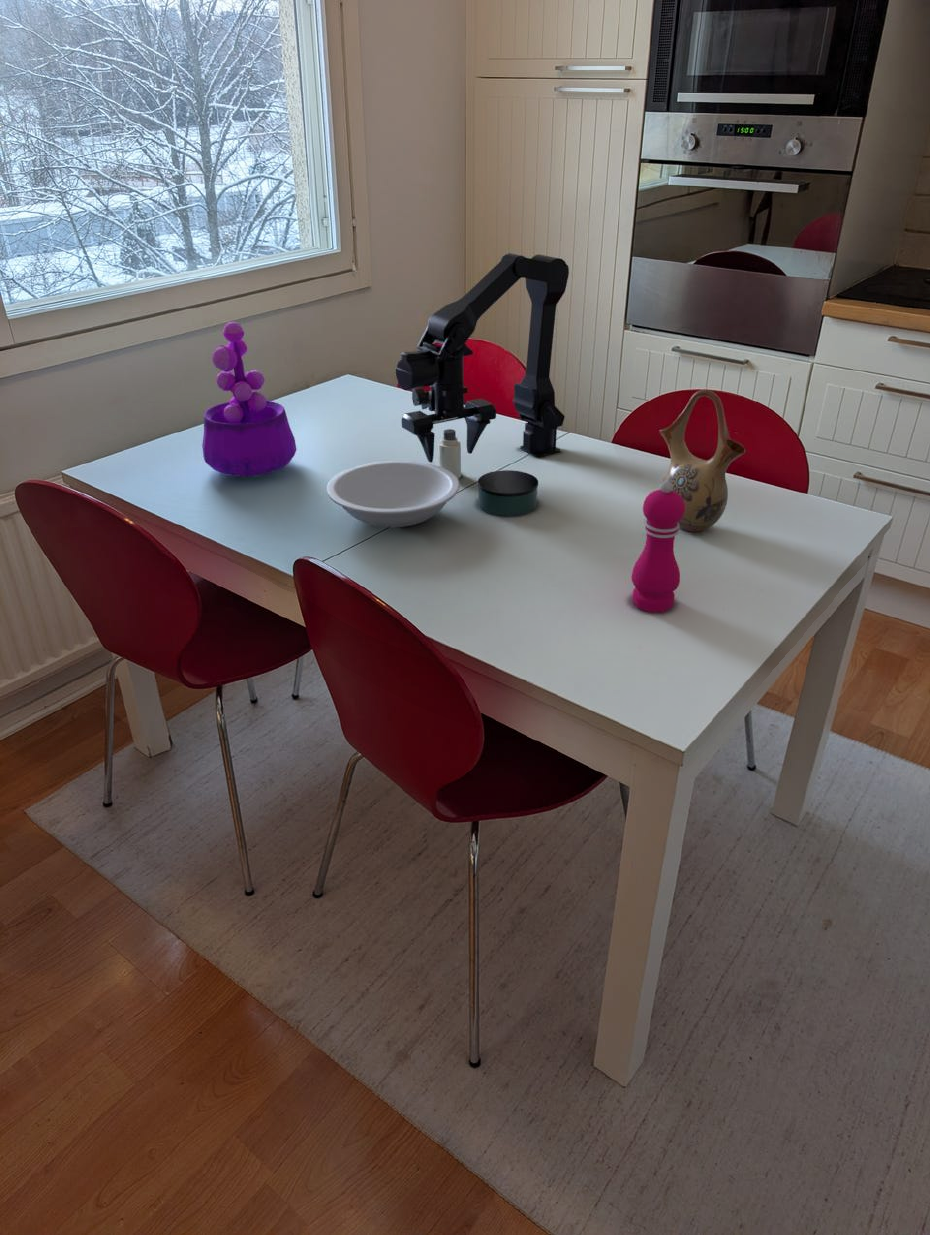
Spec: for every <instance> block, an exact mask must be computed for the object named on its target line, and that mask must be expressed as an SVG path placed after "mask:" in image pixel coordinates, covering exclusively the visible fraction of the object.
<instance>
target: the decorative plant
mask: <svg viewBox="0 0 930 1235" xmlns="http://www.w3.org/2000/svg"><path fill="white" fill-rule="evenodd" d="M222 335H223V337H224V339H226V341H228V344H227V345H224V344H223V345H222V344H221V345H219V347H217V348H216V349H214V351H213V352H212V355H211V361H212V363H213V366H215V368H216V369H218V370H220V372H219V373H218V374H217V375H216V380H215V382H216V385H217V386H218V388H219V389H220V390H222V391H223V392H224V391H225V392H229V391H230V393H232V395H233V397H232V398H231V399H230V400H229V401H227V402H223V403H222V402H221V403H219V404H217V405H214V406H211V407H210V408H209V409H207V410H206V411H205V412H204V415H203V437H202V443H201V446H202V456H203V460H204V462H205V463H206V465H208V466H209V467H210V468H211V469H213V470H214V471H216V472H218V473H219V474H224V475H227V476H234V477H258V476H263V475H267V474H270V473H273V472H276V471H279V470H280V469H283V468H284V467H286V466H287V465H289V464H290V462H291V461H292V460H293V458H295V456H296V452H297V450H298V449H297V445H296V438H295V435H294V433H293V431H292V428H291V427H290V423H289V419H288V416H287V413H286V409H285V407H284V406H283V405H282V404H281V403H278V402H275V401H271V400H267V398H266V396H265V395H264V394H263V393H261V392H258V390H260V389H262V387H263V386H264V384H265V382H266V381H265V376H264V375H263V373H262V372H261V371H259V370H258V369H257V370H256V369H253V370H248V371H247V372H246V373H245V367H244V366H245V365H244V361H243V356H244V355H246V353H247V352H248V345H247V343H246V342H245V341H244V340H243V338H244V337H245V330H244V328H243V327H242V326H241V324H240V323H238V322H237V321H229V322H227V323H226V324H225V325H224V327H223V331H222ZM232 371H233V372H232Z"/></svg>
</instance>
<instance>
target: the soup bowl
mask: <svg viewBox="0 0 930 1235" xmlns="http://www.w3.org/2000/svg"><path fill="white" fill-rule="evenodd" d="M460 486H461V483H460V480H459V478H457V477H456V476H455V475H454V474H453V473H452V472H450V471H448V470H446V469H444V468H442V467H439V465H436V464H432V463H429V462H421V461H413V460H383V461H382V460H381V461H375V462H368V463H364V464H359V465H357V466H353V467H349V468H347V469H345V470H343V471H341V472H339V473H337V474H336V475H334V476H333V477H332V478H331V479H330V480H329V482H328V483H327V486H326V494H327V496H328V497H329V499H330V500H331V501H332V502H333V503H335V504H337V505H338V506H340V507H341V508H342V509H343V510H344V511H345V512H346V513H347V514H349V515H350V517H353V518H354V519H355V520H356V521H357V520H358V521H359V522H362V523H364V524H367V525H370V526H374V527H381V528H404V527H409V526H415V525H417V524H420V523H423V522H425V521H427V520H429V519H431V518H433V517H434V516H435V515H436V514H438V513H439V512H440V511H441V510H443V508H444V506H445V505H446V504H447V503H448V502H449V501H450V500H452V499H453V498H454V497H456V495H457V494H458V492H459V490H460Z"/></svg>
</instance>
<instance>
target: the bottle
mask: <svg viewBox="0 0 930 1235" xmlns="http://www.w3.org/2000/svg"><path fill="white" fill-rule="evenodd" d="M442 432H443V437H441V440H440V441H439V442H438V466H439V467H442V468H444V469H446V470H448V471H450V472H452V473H453V474H454V475H455V476H456V477H457V478H458V479H460V478H461V477H462V446H461V445H462V444H461V441H459V440H458V437H457V436H456V434H457V433H456V430H455V429H444V430H443V431H442Z"/></svg>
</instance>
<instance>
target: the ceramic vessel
mask: <svg viewBox="0 0 930 1235" xmlns="http://www.w3.org/2000/svg"><path fill="white" fill-rule="evenodd" d="M702 397H706V398H708V399H710V400H711V401H712V402H713V403H714V407H715V411H716V416H717V426H718V433H717V434H718V436H717V446H716V450H715V452H714V455H713V456H712V457H711V458H709V459H708V460H706V459H703V458H700V457H697V456H696V455H693V454H692V453H691V451H689V449H688V446H687V443H686V440H685V433H686V429H687V425H688V422H689V419H690V416H691V414H692V411H693V409H694V407H695V406H696V403H697V401H698V400H699V398H702ZM724 411H725V410H724V407H723V402H722V400H721V398H720V397H719V396H718V394H716V393H715V392H714V391H712V390H710V389H700V390H698V391H696V392H694V393H693V394H692V396H691V397H690V398H689V400H688V402H687V404H686V406H685V407H684V409H683V410H682V412H681V413H680V414H679V415H678V417H677V418H676V419H675V420H674V421H673V422H672V423H671V424H670V426H668V427H664V428H661V429H659V430H658V432H659V434H660V436H662V438H663V439H664V441H665V443H666V445H667V447H668V451H669V455H670V465H669V468H668V470H667V471H666V473H665V475H664V477H663V480H662V482H664V481H669V482H671V483H672V485H673V489H672V491H675V492H677V493H678V494H679V495H680V496H681V497H682V498H683V500H684V503H685V513H684V516H683V518H682V519H681V520H680V521H679V525H680V526H679V528H678V529H681V530H684V531H687V532H693V533H699V532H704V531H706V530H707V529H709V528H711V527H713V526H714V525H715V524H717V522H718V521H719V520H720V519H721V517H722V516H723V514H724V513H725V510H726V507H727V504H728V498H729V489H728V484H727V479H726V473H727V470H728V468H729V466H730V465H731V463H733V462H734V461H735V460H737V459H738V458H740V457H741V456H742V455H744V454H745V453H746V450H747V449H746V447H745V446H744V445H743V444H742V443H741V442H739V441H738V440H735V439H732V438H731V436H730V433H729V430H728V426H727V421H726V416H725V412H724Z"/></svg>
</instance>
